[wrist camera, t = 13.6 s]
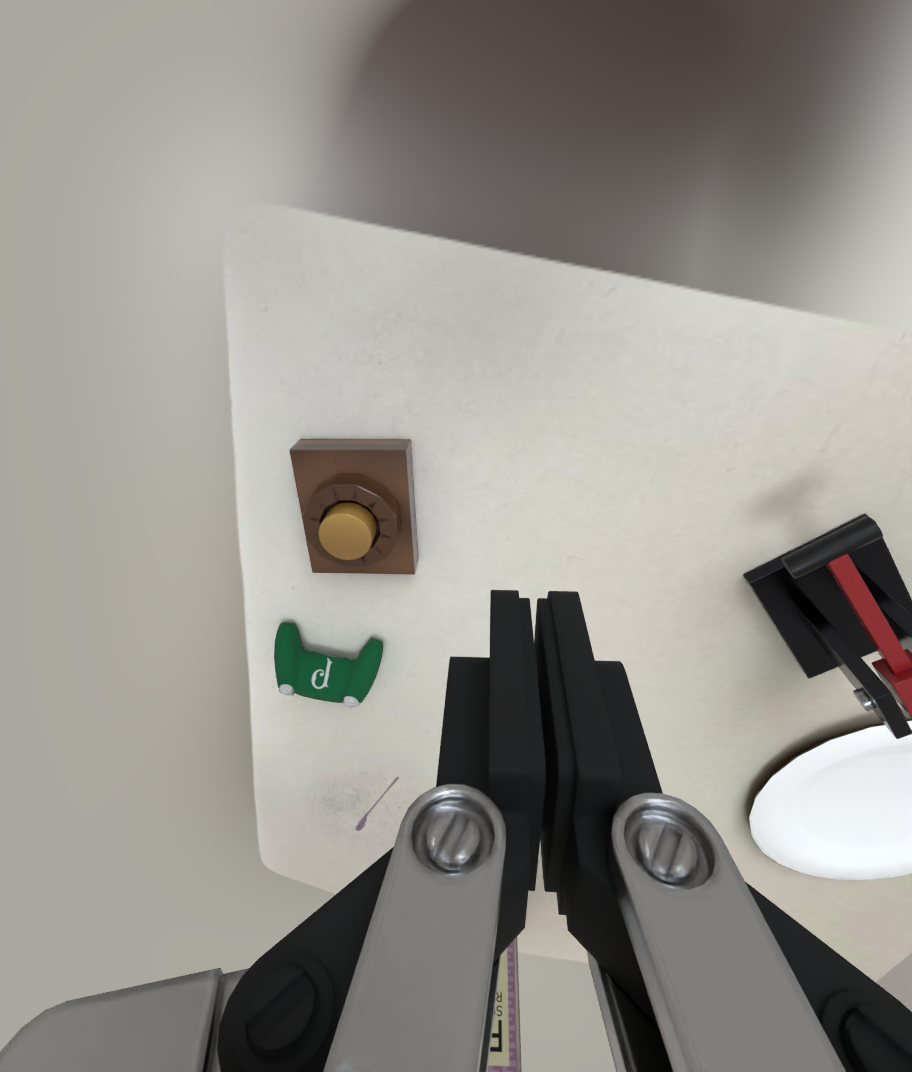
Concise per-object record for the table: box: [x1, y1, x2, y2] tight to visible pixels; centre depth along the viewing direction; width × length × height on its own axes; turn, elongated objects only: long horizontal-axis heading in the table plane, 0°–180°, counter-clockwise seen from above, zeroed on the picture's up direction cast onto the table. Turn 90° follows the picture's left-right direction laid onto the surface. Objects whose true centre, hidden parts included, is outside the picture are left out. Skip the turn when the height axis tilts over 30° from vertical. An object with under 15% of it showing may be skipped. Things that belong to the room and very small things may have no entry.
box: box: [488, 937, 521, 1072], centre depth 55 cm, size 17×9×20 cm, turn 6°
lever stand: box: [743, 514, 912, 739], centre depth 36 cm, size 12×9×11 cm
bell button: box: [319, 502, 376, 560], centre depth 36 cm, size 4×4×2 cm
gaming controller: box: [274, 622, 383, 707], centre depth 46 cm, size 9×4×6 cm
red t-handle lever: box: [781, 516, 912, 716], centre depth 32 cm, size 13×5×2 cm, turn 38°
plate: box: [749, 719, 912, 880], centre depth 51 cm, size 25×25×2 cm
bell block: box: [290, 439, 418, 574], centre depth 38 cm, size 10×8×4 cm
